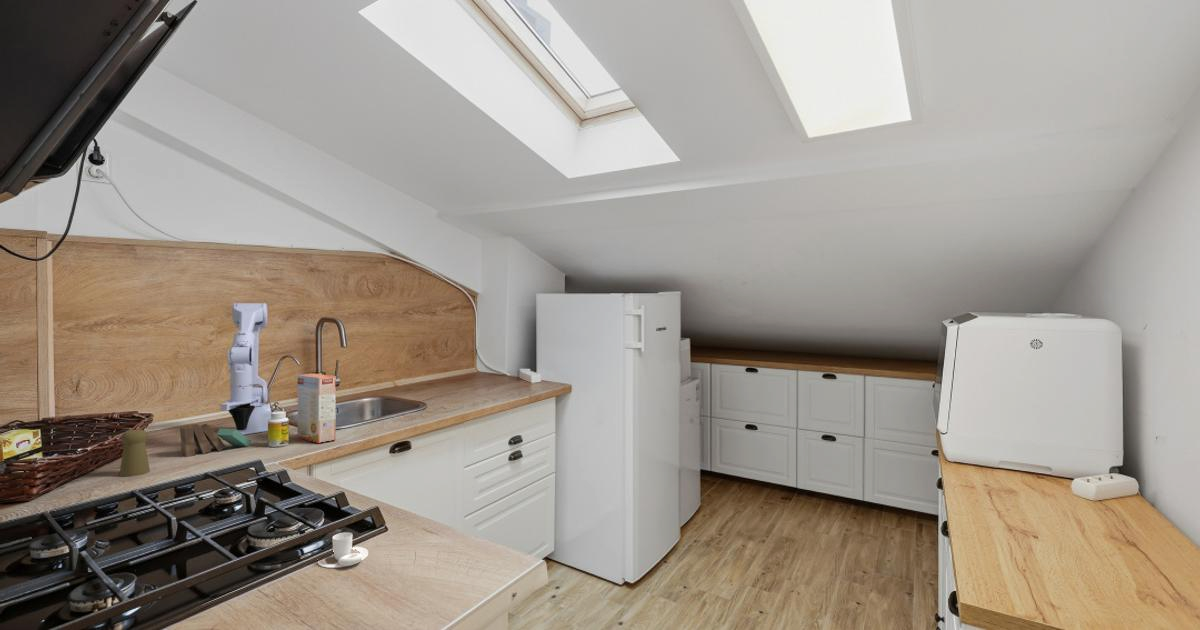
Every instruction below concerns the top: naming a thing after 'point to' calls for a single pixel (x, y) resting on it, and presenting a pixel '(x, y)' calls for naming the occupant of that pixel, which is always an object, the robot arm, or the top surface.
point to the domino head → (233, 437)
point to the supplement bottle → (278, 429)
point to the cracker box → (316, 407)
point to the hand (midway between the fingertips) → (241, 429)
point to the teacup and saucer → (345, 551)
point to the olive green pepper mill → (134, 454)
